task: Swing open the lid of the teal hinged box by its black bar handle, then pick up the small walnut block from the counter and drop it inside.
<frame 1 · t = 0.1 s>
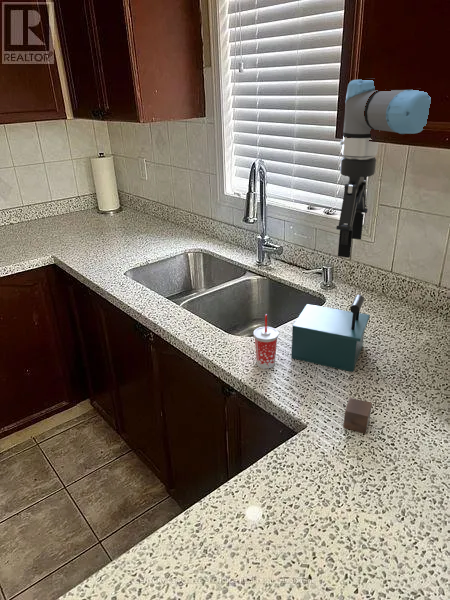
hand: (350, 247, 109), 27 cm above the worktop, tool pointing down, fingers open, 13 cm apart
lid: (332, 309, 110), point 13 cm above the worktop, hinge at 0.0°
teal hinged box: (327, 352, 116), on the worktop
block: (356, 423, 92), on the worktop
beverage cup: (265, 364, 113), on the worktop
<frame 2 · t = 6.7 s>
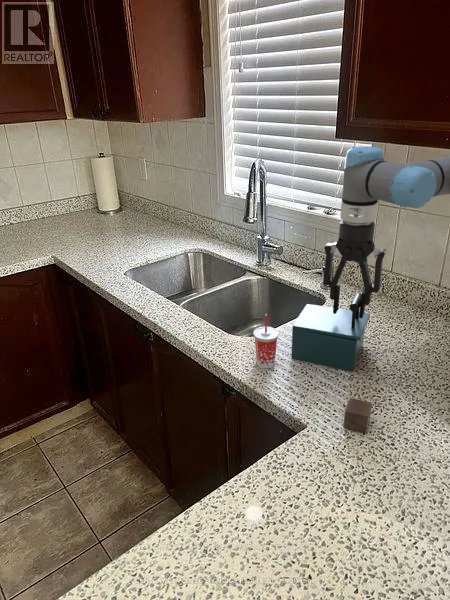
hand: (348, 313, 109), 12 cm above the worktop, tool pointing down, fingers open, 6 cm apart
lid: (332, 308, 110), point 13 cm above the worktop, hinge at 1.5°, touching gripper
everything else where it was.
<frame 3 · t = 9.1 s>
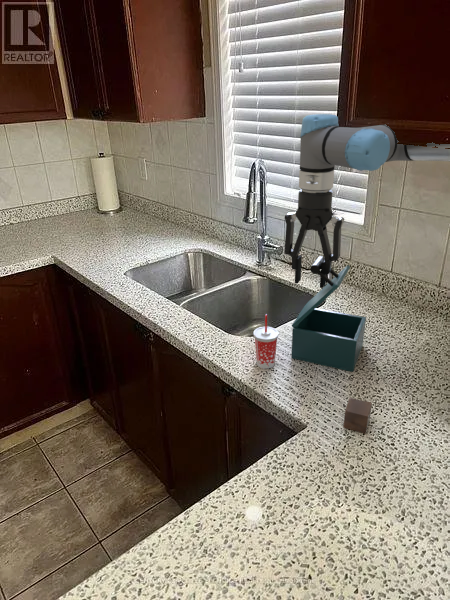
hand: (310, 283, 110), 19 cm above the worktop, tool pointing down, fingers open, 6 cm apart
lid: (310, 287, 110), point 18 cm above the worktop, hinge at 52.1°, touching gripper
everything else where it was.
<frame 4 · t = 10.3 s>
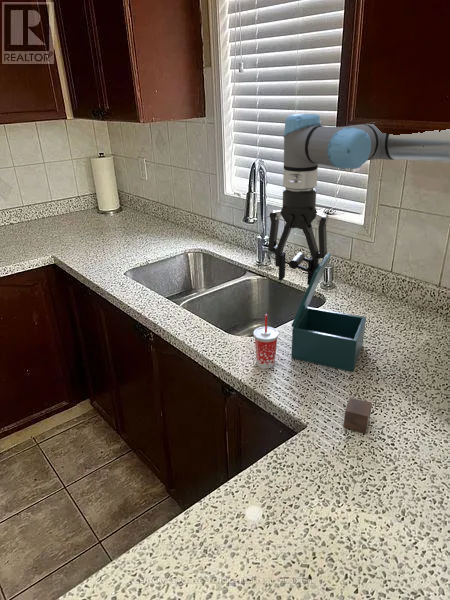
hand: (295, 280, 111), 19 cm above the worktop, tool pointing down, fingers open, 7 cm apart
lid: (299, 284, 111), point 18 cm above the worktop, hinge at 71.8°, touching gripper
everything else where it was.
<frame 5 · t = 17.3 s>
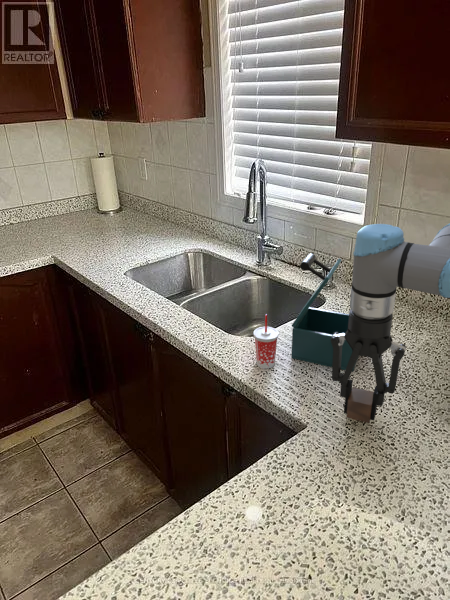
hand: (359, 412, 91), 3 cm above the worktop, tool pointing down, fingers closed on block, 4 cm apart
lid: (305, 285, 111), point 18 cm above the worktop, hinge at 61.5°
block: (359, 413, 91), point 3 cm above the worktop, touching gripper
everything else where it was.
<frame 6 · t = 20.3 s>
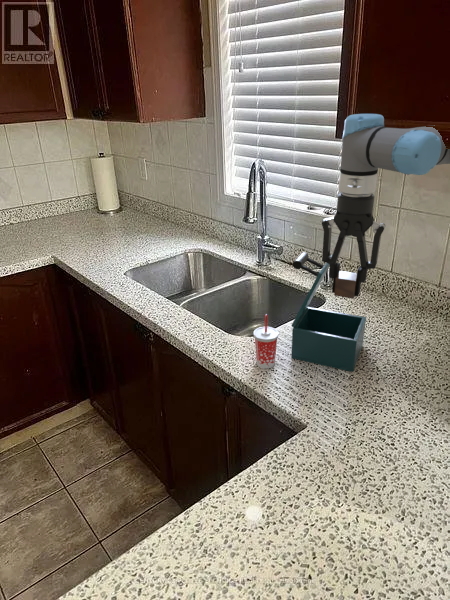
hand: (345, 292, 105), 19 cm above the worktop, tool pointing down, fingers closed on block, 4 cm apart
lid: (301, 284, 111), point 18 cm above the worktop, hinge at 68.3°
block: (345, 293, 105), point 19 cm above the worktop, touching gripper
everything else where it was.
when the fingers open (10 cm above the worktop, at t = 23.1 s): block drops 9 cm, resting on teal hinged box.
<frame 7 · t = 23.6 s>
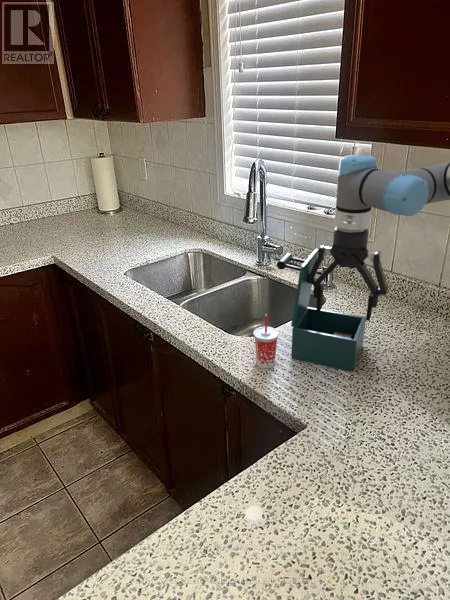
hand: (343, 313, 110), 12 cm above the worktop, tool pointing down, fingers open, 11 cm apart
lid: (292, 284, 112), point 18 cm above the worktop, hinge at 83.9°, touching gripper
block: (340, 352, 115), point 1 cm above the worktop, touching teal hinged box
everything else where it was.
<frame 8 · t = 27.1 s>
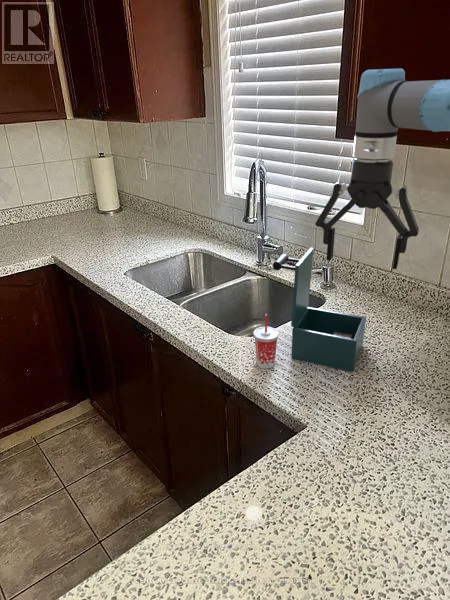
hand: (361, 262, 95), 29 cm above the worktop, tool pointing down, fingers open, 13 cm apart
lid: (289, 284, 113), point 18 cm above the worktop, hinge at 88.2°
everything else where it was.
at the end: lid at +88° (first picture: +0°); block inside the target area in the teal hinged box (3.2 cm from its centre), point 0.8 cm above the teal hinged box's base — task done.
